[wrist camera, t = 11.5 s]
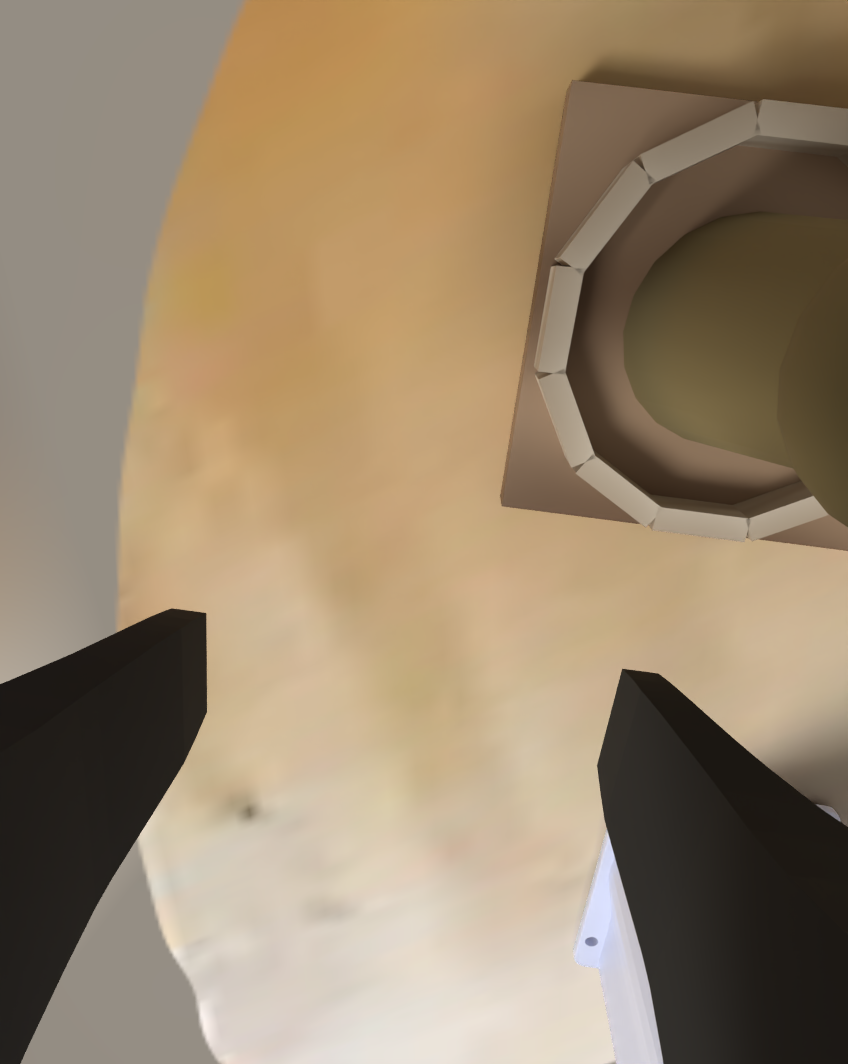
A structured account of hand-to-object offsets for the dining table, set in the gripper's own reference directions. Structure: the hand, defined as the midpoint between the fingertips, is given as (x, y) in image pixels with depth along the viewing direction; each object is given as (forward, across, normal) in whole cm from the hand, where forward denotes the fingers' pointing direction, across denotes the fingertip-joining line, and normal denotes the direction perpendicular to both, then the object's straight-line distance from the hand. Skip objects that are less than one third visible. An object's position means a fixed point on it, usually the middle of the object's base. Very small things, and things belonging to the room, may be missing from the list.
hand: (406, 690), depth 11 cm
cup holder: (+10, -8, -6) cm, 14 cm away
